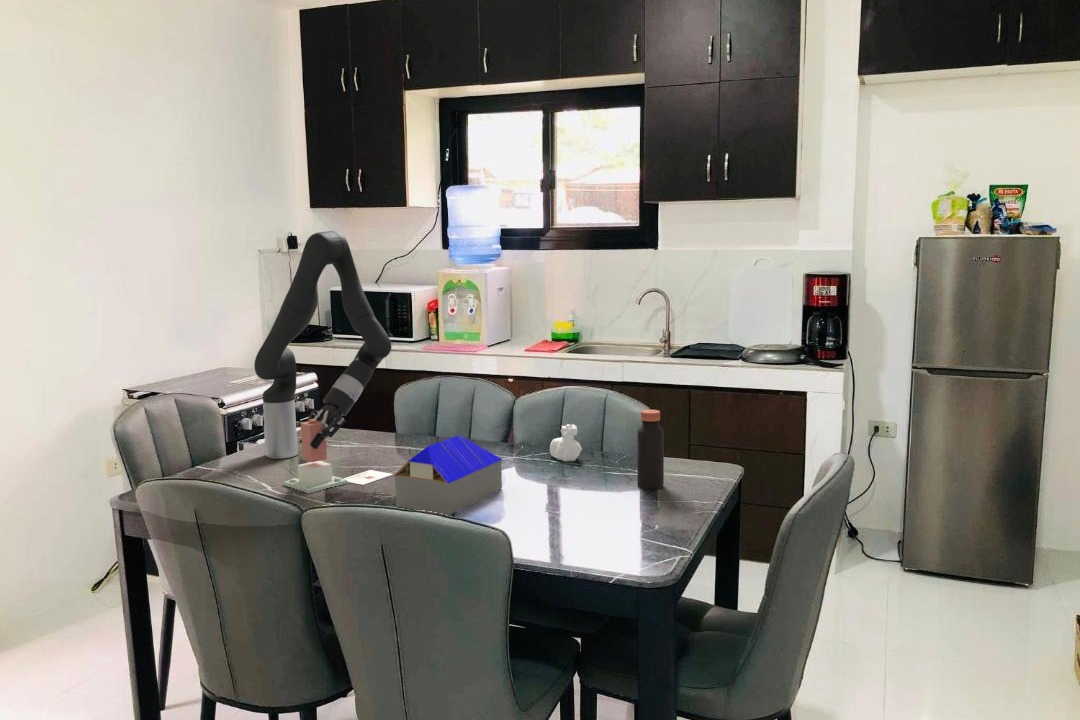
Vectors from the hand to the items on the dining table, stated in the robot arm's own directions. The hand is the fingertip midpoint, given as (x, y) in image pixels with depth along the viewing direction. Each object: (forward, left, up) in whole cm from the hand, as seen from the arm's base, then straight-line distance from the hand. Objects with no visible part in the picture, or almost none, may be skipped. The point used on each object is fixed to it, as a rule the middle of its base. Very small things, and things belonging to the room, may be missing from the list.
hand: (307, 445), depth 229 cm
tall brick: (0, +2, -4) cm, 5 cm away
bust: (+34, +66, -11) cm, 75 cm away
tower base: (0, +2, -11) cm, 11 cm away
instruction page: (+5, +15, -11) cm, 19 cm away
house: (+37, +17, -12) cm, 43 cm away
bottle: (+70, +58, -11) cm, 91 cm away
